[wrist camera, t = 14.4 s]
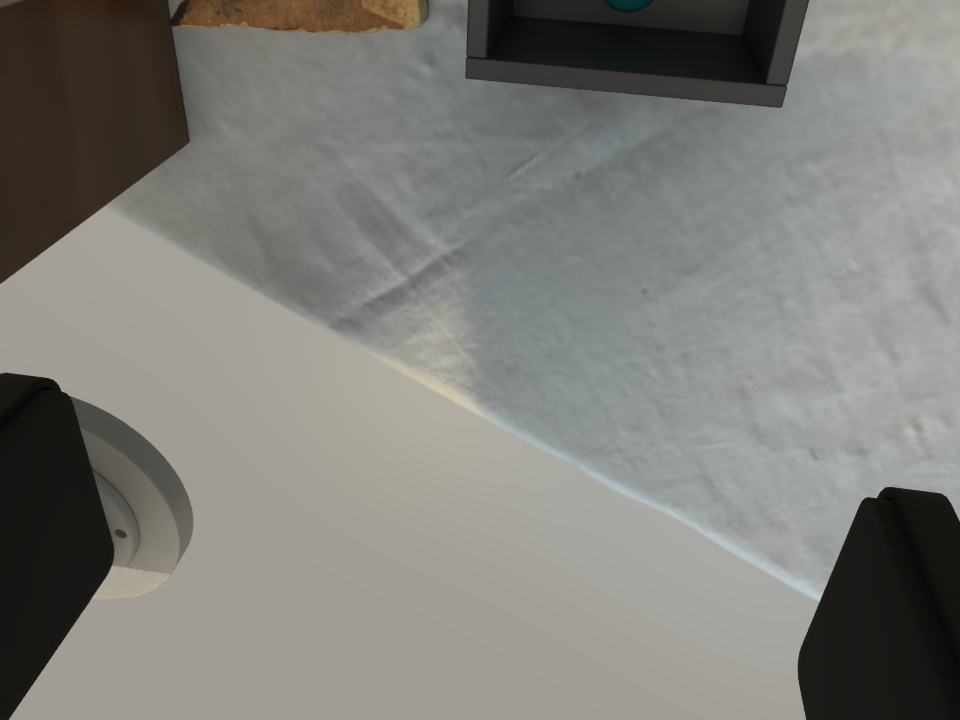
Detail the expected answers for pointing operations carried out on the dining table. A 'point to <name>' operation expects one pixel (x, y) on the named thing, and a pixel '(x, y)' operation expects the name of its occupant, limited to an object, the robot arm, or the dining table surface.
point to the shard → (303, 14)
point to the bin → (640, 47)
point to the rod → (628, 5)
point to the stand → (80, 113)
